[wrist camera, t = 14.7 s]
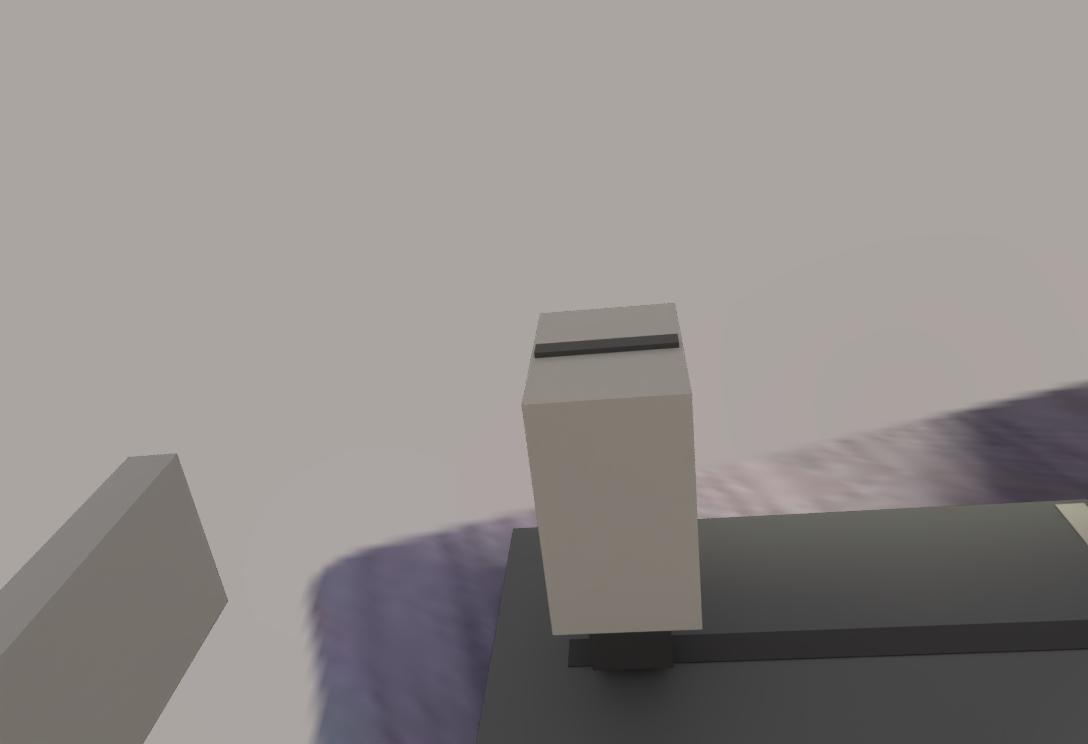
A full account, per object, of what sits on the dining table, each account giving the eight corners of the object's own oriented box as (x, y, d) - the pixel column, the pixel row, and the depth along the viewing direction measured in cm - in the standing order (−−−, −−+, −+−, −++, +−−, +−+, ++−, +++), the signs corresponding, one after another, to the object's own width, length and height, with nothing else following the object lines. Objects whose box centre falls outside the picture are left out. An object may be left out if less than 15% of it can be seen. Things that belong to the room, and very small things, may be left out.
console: (1181, 560, 33) (1197, 492, 32) (1535, 933, 20) (1585, 844, 19) (522, 589, 36) (512, 527, 34) (473, 934, 23) (456, 856, 22)
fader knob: (689, 577, 30) (674, 298, 26) (706, 713, 25) (691, 387, 20) (572, 582, 30) (539, 308, 26) (563, 717, 25) (520, 399, 21)
